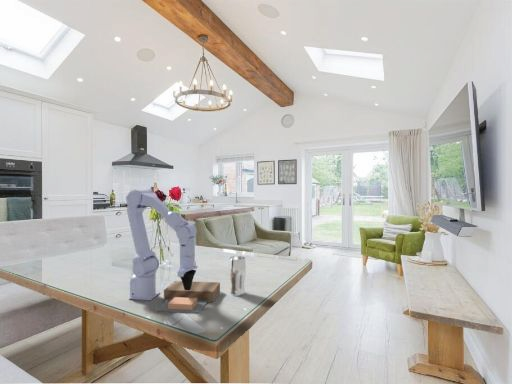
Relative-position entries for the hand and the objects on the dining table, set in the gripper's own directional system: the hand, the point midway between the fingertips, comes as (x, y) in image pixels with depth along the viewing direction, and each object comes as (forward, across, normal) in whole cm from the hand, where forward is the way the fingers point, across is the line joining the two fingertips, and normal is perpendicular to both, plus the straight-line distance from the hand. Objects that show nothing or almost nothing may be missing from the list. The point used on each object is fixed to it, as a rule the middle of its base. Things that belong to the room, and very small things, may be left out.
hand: (187, 289), depth 108 cm
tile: (+2, -5, 0) cm, 6 cm away
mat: (+5, -4, 0) cm, 7 cm away
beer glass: (+5, +10, -18) cm, 21 cm away
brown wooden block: (+5, +6, 0) cm, 8 cm away
